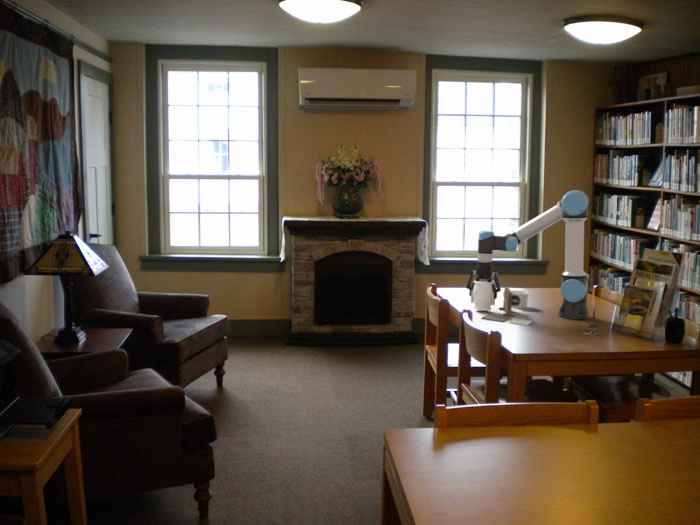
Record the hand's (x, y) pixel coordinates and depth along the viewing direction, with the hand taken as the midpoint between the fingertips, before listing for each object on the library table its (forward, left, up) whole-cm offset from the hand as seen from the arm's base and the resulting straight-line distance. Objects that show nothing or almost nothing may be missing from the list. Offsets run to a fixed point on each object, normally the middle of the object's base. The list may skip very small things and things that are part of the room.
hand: (482, 303), depth 367 cm
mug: (-11, -24, -4) cm, 26 cm away
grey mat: (-11, +12, -4) cm, 17 cm away
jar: (0, 0, -3) cm, 3 cm away
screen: (-12, -5, -4) cm, 13 cm away
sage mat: (-24, +13, -4) cm, 27 cm away
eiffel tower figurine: (-57, +14, -5) cm, 59 cm away
